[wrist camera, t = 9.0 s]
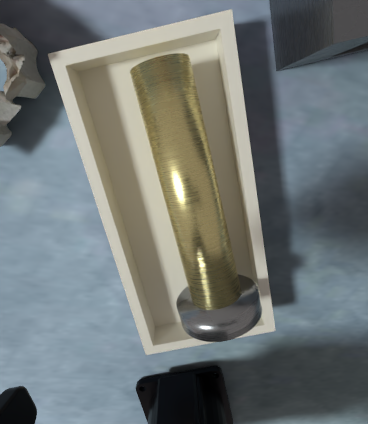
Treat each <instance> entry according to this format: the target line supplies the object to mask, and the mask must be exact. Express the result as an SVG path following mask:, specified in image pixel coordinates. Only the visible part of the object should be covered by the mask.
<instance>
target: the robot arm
mask: <svg viewBox="0 0 368 424" xmlns="http://www.w3.org/2000/svg"><path fill="white" fill-rule="evenodd" d="M214 373H216V374H214ZM142 386H144V387H142ZM136 391H137V394H138V397H139V400H140V402H141V405H142V408H143V411H144V413H145V416H146V419H147V422H148V424H233V419H232V414H231V410H230V405H229V401H228V396H227V392H226V387H225V383H224V379H223V374H222V370H221V368H220V367H218V366H212V367H206V368H201V369H195V370H190V371H184V372H179V373H173V374H168V375H162V376H157V377H151V378H146V379H141V380H139V381H138V382H137V385H136ZM36 415H37V409H36V406H35V404H34V402H33V400H32V398H31V396H30V395H29V393H28V391H27V389H26V388H25V387H23V386H19V387H14V388H9V389H7V390H5V391H4V392H3V393H2V394H1V395H0V424H35V420H36Z"/></svg>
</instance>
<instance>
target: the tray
mask: <svg viewBox="0 0 368 424" xmlns="http://www.w3.org/2000/svg"><path fill="white" fill-rule="evenodd" d="M174 53H184V54H187V55H189V57H190V61H191V66H192V70H193V75H194V79H195V84H196V88H197V93H198V97H199V102H200V106H201V111H202V115H203V120H204V124H205V129H206V133H207V138H208V142H209V147H210V151H211V156H212V160H213V165H214V169H215V174H216V178H217V183H218V187H219V192H220V196H221V201H222V206H223V210H224V215H225V219H226V224H227V228H228V233H229V237H230V242H231V246H232V251H233V255H234V260H235V264H236V269H237V273H238V274H239V275H243V276H246V277H248V278H250V279H252V280H253V281H254V282H255V283H256V285H257V287H258V291H259V296H260V301H261V306H262V315H261V318H260V320H259V322H258V323H257V324H256V325H255V326H254V327H253V328H252V329H251V330H250V331H248V332H247V333H245V334H243V335H241V336H239V337H237V338H240V337H246V336H251V335H257V334H262V333H267V332H273V331H275V324H274V316H273V309H272V302H271V294H270V287H269V279H268V272H267V265H266V257H265V250H264V243H263V235H262V228H261V220H260V213H259V206H258V198H257V191H256V184H255V176H254V169H253V162H252V154H251V147H250V139H249V132H248V125H247V117H246V110H245V103H244V95H243V88H242V80H241V73H240V66H239V58H238V51H237V44H236V36H235V29H234V21H233V14H232V9H231V10H227V11H222V12H218V13H214V14H210V15H206V16H202V17H198V18H194V19H189V20H185V21H181V22H177V23H173V24H169V25H165V26H160V27H156V28H152V29H148V30H144V31H140V32H136V33H132V34H127V35H123V36H119V37H115V38H111V39H107V40H103V41H99V42H94V43H90V44H86V45H82V46H78V47H74V48H70V49H66V50H61V51H57V52H53V53H49V54H48V57H49V60H50V63H51V66H52V69H53V72H54V75H55V78H56V82H57V85H58V88H59V91H60V94H61V97H62V100H63V103H64V106H65V109H66V112H67V115H68V118H69V121H70V124H71V127H72V130H73V133H74V136H75V140H76V143H77V146H78V149H79V152H80V155H81V158H82V161H83V164H84V167H85V170H86V173H87V176H88V179H89V182H90V185H91V188H92V191H93V195H94V198H95V201H96V204H97V207H98V210H99V213H100V216H101V219H102V222H103V225H104V228H105V231H106V234H107V237H108V240H109V243H110V246H111V249H112V253H113V256H114V259H115V262H116V265H117V268H118V271H119V274H120V277H121V280H122V283H123V286H124V289H125V292H126V295H127V298H128V301H129V304H130V308H131V311H132V314H133V317H134V320H135V323H136V326H137V329H138V332H139V335H140V338H141V341H142V344H143V347H144V350H145V353H146V355H149V354H155V353H160V352H165V351H171V350H176V349H181V348H187V347H192V346H197V345H203V344H208V343H214V342H206V341H201V340H198V339H195V338H193V337H191V336H190V335H188V334H187V333H186V332H185V331H184V329H183V327H182V323H181V320H180V317H179V313H178V310H177V305H176V302H177V298H178V296H179V294H180V293H181V292H182V291H183V290H184V289H185V288H186V287H187V286H188V284H187V281H186V277H185V273H184V270H183V266H182V262H181V259H180V255H179V251H178V248H177V244H176V240H175V237H174V233H173V229H172V225H171V222H170V218H169V214H168V211H167V207H166V203H165V200H164V196H163V192H162V189H161V185H160V181H159V178H158V174H157V170H156V167H155V163H154V159H153V156H152V152H151V148H150V145H149V141H148V137H147V134H146V130H145V126H144V123H143V119H142V115H141V112H140V108H139V104H138V101H137V97H136V93H135V90H134V86H133V82H132V79H131V75H130V70H131V69H132V68H133V67H134V66H136V65H137V64H139V63H141V62H144V61H146V60H148V59H151V58H154V57H158V56H162V55H167V54H174ZM234 339H235V338H234Z"/></svg>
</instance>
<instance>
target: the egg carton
mask: <svg viewBox="0 0 368 424" xmlns="http://www.w3.org/2000/svg"><path fill="white" fill-rule="evenodd" d="M37 53H38V51H37V50H36V48H35V46H34V45H33V44H32V43H31V42H30V41H29V40H27V39H26V38H25V37H24V36H23V35H22V34H21V33H20V32H19V31H18V30H17V29H16V28H15V27H14V28H10V27H8V26H6V25H5V24H2V23H0V59H1V60H2V61H3V62H4V64H5V66H6V68H7V80H6V82H5V84H4V87H3V88H4V91H0V147H1V146H3V145H4V143H5V142H6V141H7V140H8V139H9V138H10V137H11V134H12V132H11V131H10V130H9V129H8V127H7V126H6V125H7V124H8V123H9V122H10V121H11V119H12V118H13V117H14V116H15V115H16V114H17V113H18V111H19V110H20V109H21V106H20V105H16V104H15V103H13V99H14V98H15V97H17V96H18V97H27V98H33V99H36V98H37V97H38V96H39V94H40V93H41V91H42V90H43V89H44V87H45V86H46V85H45V82H44V81H43V80H42V78H41V76H40V74H39V73H38V70H37V65H36V58H37Z"/></svg>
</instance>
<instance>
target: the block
mask: <svg viewBox="0 0 368 424" xmlns="http://www.w3.org/2000/svg"><path fill="white" fill-rule="evenodd" d="M270 10H271V20H272V30H273V40H274V50H275V60H276V71H279V70H284V69H288V68H292V67H297V66H301V65H305V64H310V63H314V62H318V61H323V60H327V59H331V58H336V57H340V56H344V55H349V54H353V53H357V52H362V51H366V50H368V0H270Z"/></svg>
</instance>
